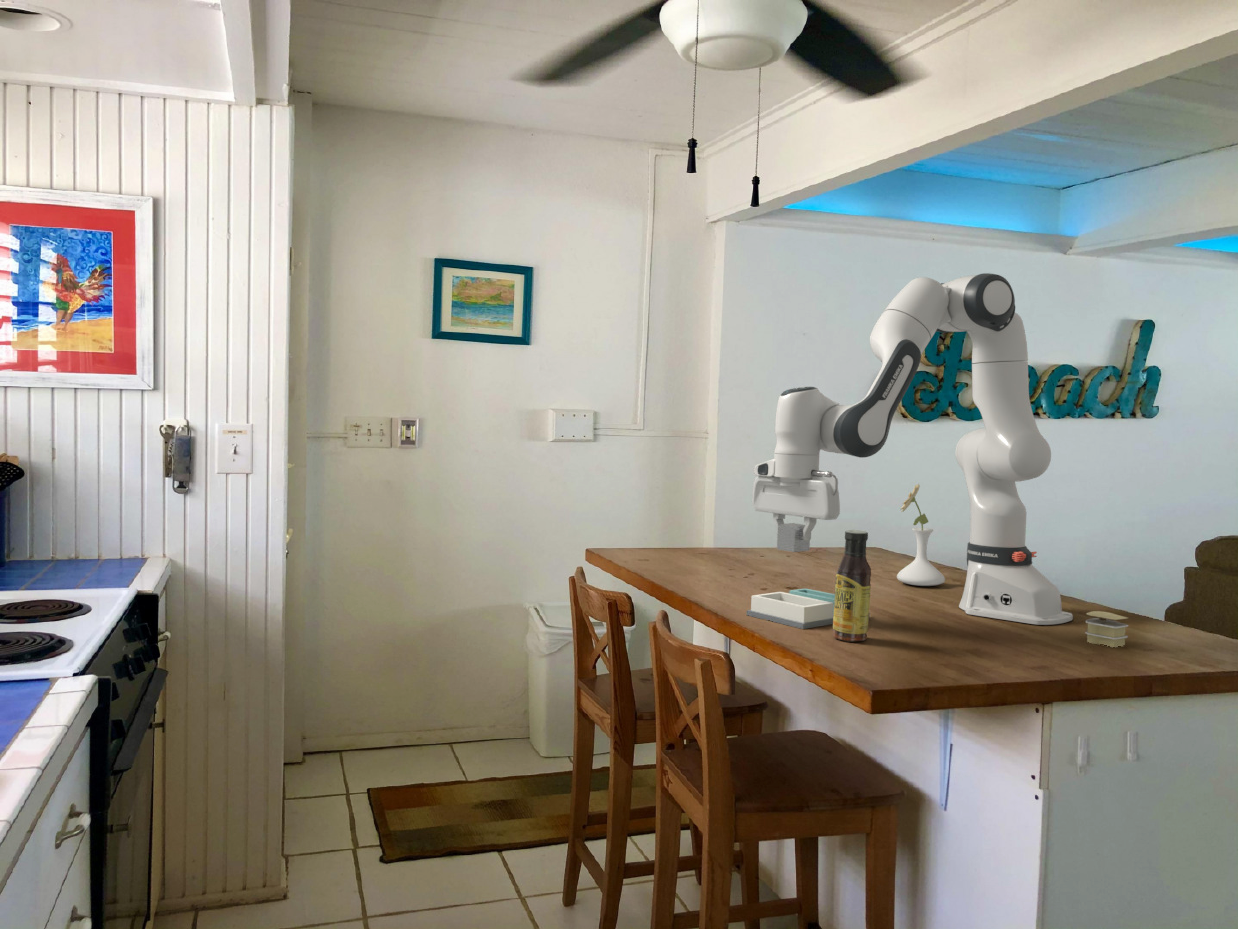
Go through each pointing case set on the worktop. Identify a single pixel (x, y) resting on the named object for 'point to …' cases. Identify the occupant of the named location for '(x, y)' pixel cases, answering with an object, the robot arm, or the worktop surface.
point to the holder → (795, 608)
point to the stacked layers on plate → (1106, 629)
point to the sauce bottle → (852, 590)
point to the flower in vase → (920, 553)
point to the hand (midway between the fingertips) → (793, 538)
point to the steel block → (791, 538)
